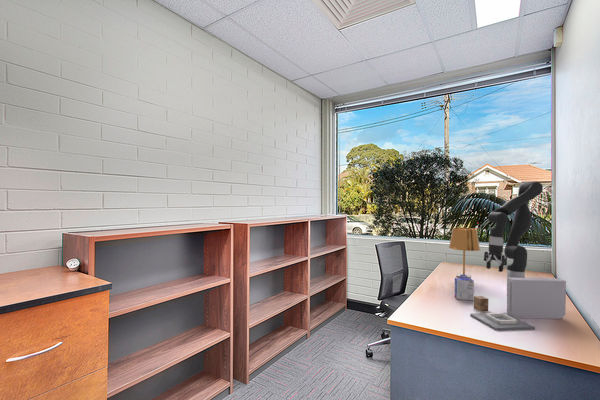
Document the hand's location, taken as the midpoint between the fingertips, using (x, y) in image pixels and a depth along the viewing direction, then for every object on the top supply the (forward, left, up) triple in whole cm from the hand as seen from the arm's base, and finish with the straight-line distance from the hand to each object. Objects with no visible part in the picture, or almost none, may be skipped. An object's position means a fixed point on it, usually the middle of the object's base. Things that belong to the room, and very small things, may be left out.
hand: (494, 270), depth 186 cm
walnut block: (+21, +17, -18) cm, 33 cm away
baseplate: (+23, +34, -18) cm, 45 cm away
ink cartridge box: (+18, -2, -18) cm, 26 cm away
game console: (-1, +27, -18) cm, 33 cm away
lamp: (-6, -37, -18) cm, 42 cm away
